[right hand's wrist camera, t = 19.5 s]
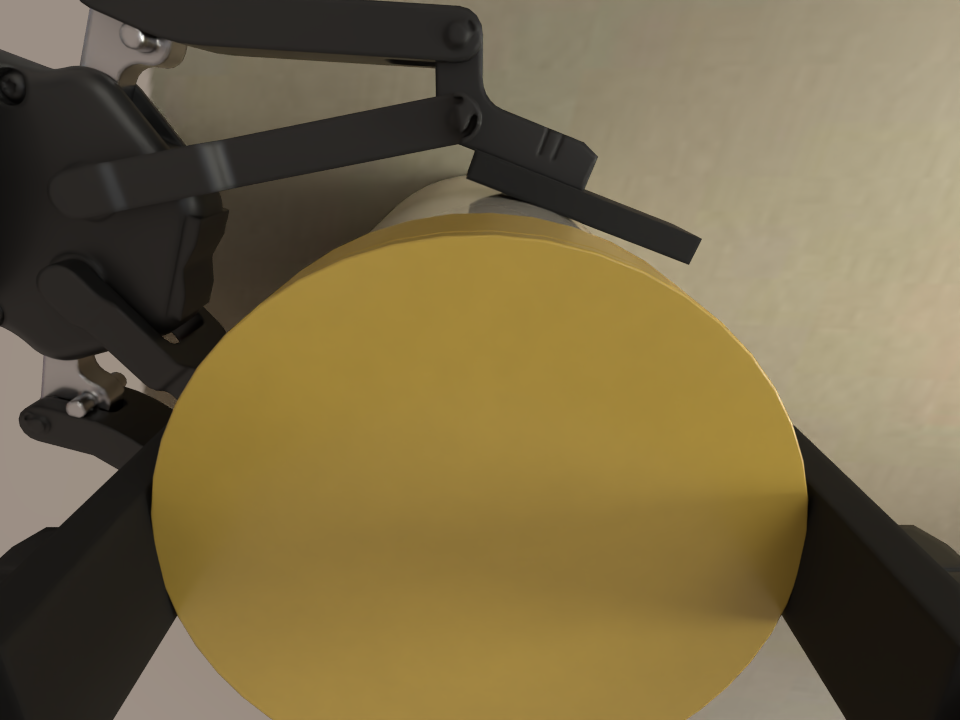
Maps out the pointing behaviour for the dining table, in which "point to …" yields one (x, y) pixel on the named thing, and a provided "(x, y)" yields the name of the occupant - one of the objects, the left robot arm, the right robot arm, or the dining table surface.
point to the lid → (479, 486)
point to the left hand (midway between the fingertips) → (602, 402)
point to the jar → (465, 204)
